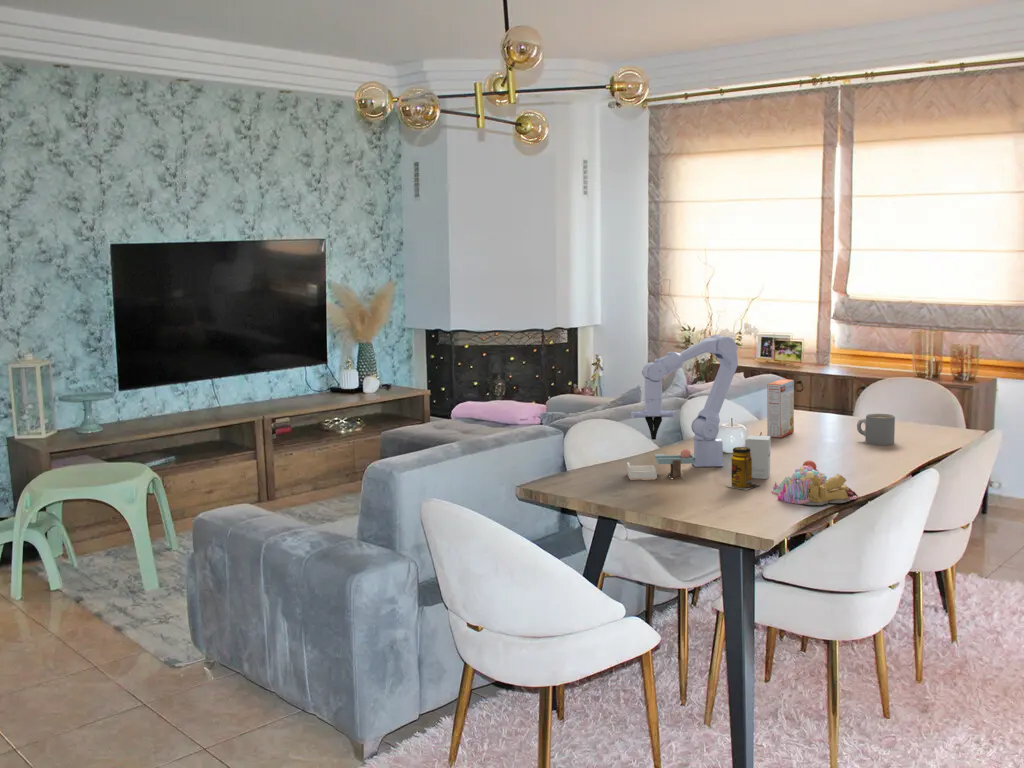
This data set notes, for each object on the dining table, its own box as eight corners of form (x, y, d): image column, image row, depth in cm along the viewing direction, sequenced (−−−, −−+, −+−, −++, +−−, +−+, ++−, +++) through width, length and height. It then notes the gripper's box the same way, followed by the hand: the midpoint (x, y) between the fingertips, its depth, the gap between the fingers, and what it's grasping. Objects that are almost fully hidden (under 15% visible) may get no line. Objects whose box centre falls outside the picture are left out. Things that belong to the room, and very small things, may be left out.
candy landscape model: (873, 499, 287) (874, 468, 285) (814, 512, 275) (815, 479, 274) (808, 483, 308) (808, 454, 307) (751, 494, 297) (751, 463, 295)
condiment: (725, 486, 305) (725, 448, 303) (741, 481, 311) (741, 444, 309) (745, 490, 300) (746, 451, 298) (761, 485, 305) (761, 447, 304)
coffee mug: (899, 442, 365) (900, 415, 363) (884, 446, 359) (884, 419, 357) (867, 437, 375) (867, 411, 374) (851, 441, 369) (852, 414, 368)
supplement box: (768, 479, 313) (768, 440, 311) (744, 478, 316) (744, 439, 314) (770, 474, 320) (771, 435, 318) (747, 473, 322) (747, 434, 321)
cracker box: (779, 431, 392) (780, 378, 390) (794, 432, 389) (795, 379, 386) (765, 437, 381) (766, 383, 378) (781, 438, 378) (781, 384, 375)
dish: (653, 473, 324) (653, 461, 324) (656, 479, 316) (656, 467, 315) (627, 474, 325) (627, 462, 324) (629, 480, 316) (629, 468, 315)
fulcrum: (680, 473, 324) (680, 455, 323) (683, 479, 316) (683, 460, 315) (667, 473, 324) (667, 455, 323) (670, 479, 316) (670, 461, 315)
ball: (689, 457, 320) (689, 448, 320) (691, 460, 317) (691, 450, 317) (679, 458, 320) (679, 448, 320) (681, 460, 317) (681, 450, 317)
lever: (690, 455, 328) (690, 449, 328) (695, 463, 316) (695, 457, 316) (653, 456, 329) (653, 450, 329) (657, 464, 317) (657, 458, 317)
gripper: (632, 400, 326) (632, 441, 328) (676, 400, 325) (676, 441, 327) (630, 397, 333) (631, 437, 335) (674, 397, 332) (674, 436, 334)
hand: (653, 439), depth 331 cm, fingers closed
